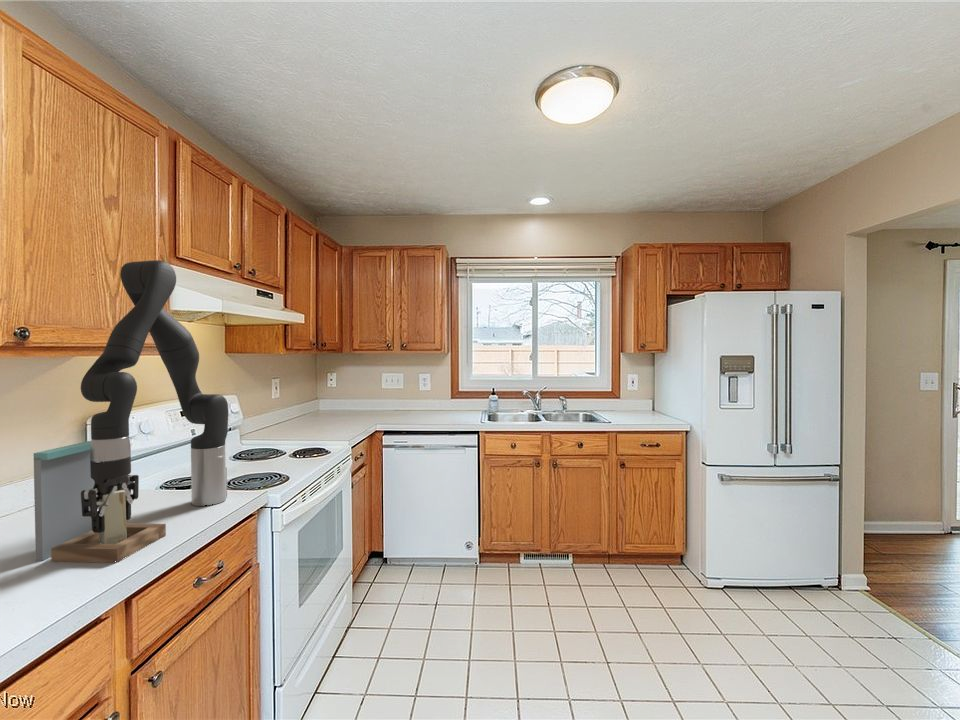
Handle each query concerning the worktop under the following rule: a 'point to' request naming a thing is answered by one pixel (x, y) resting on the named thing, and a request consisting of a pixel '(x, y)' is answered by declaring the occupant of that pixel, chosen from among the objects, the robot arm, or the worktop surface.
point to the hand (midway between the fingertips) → (112, 525)
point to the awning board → (60, 496)
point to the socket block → (107, 545)
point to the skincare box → (114, 519)
